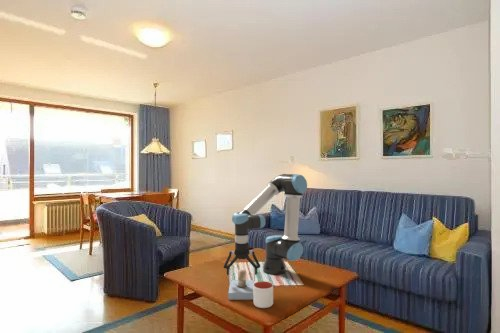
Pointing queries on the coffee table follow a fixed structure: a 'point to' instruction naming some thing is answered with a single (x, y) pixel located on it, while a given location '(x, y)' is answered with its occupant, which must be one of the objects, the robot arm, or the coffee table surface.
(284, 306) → the coffee table surface
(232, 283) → the board
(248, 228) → the robot arm
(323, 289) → the coffee table surface
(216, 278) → the coffee table surface
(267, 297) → the cup
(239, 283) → the peg
